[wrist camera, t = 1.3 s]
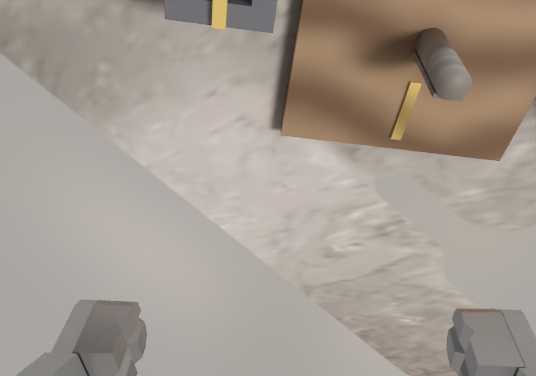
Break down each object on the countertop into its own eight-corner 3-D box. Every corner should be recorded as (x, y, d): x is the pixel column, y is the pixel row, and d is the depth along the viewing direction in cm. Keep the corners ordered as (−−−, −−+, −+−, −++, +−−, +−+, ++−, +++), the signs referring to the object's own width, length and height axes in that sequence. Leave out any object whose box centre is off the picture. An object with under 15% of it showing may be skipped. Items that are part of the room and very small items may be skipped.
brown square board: (325, -140, 26) (334, -119, 21) (628, -94, 27) (713, -63, 22) (281, 126, 38) (280, 184, 33) (494, 152, 39) (527, 212, 34)
